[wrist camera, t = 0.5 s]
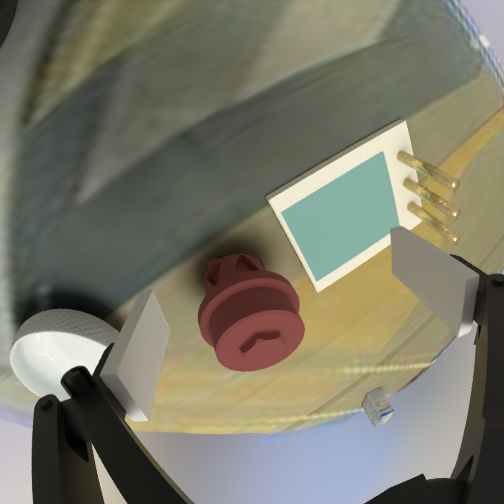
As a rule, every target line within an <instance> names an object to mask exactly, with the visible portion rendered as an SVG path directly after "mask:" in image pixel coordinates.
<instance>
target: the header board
mask: <svg viewBox="0 0 504 504" xmlns="http://www.w3.org/2000/svg"><path fill="white" fill-rule="evenodd" d="M400 151H404V152H406V153H409V154H411V155H413V151H412V147H411V142H410V137H409V133H408V129H407V124H406V121H405V120H402V119H399V120H397V121H395V122H393V123H392V124H390V125H388V126H386V127H384V128H382V129H381V130H379V131H377V132H375V133H373V134H372V135H370V136H368V137H366V138H364V139H363V140H361V141H359V142H357V143H356V144H354V145H352V146H350V147H349V148H347V149H345V150H343V151H342V152H340V153H338V154H336V155H335V156H333V157H331V158H329V159H328V160H326V161H324V162H322V163H321V164H319V165H317V166H316V167H314V168H312V169H311V170H309V171H307V172H305V173H304V174H302V175H300V176H299V177H297V178H295V179H294V180H292V181H290V182H289V183H287V184H285V185H284V186H282V187H280V188H279V189H277V190H275V191H274V192H272V193H271V194H269V195H267V196H266V199H267V201H268V203H269V204H270V206H271V208H272V210H273V212H274V213H275V215H276V217H277V219H278V221H279V223H280V224H281V226H282V228H283V230H284V232H285V233H286V235H287V237H288V239H289V241H290V243H291V245H292V246H293V248H294V250H295V252H296V254H297V256H298V258H299V259H300V261H301V263H302V265H303V267H304V269H305V271H306V273H307V275H308V276H309V278H310V280H311V282H312V284H313V286H314V288H315V289H316V291H317V292H319V291H321V290H322V289H324V288H326V287H327V286H329V285H330V284H332V283H333V282H335V281H336V280H338V279H340V278H341V277H343V276H344V275H346V274H347V273H349V272H350V271H352V270H353V269H355V268H356V267H358V266H359V265H361V264H362V263H364V262H365V261H367V260H368V259H370V258H371V257H372V256H374V255H375V254H377V253H378V252H380V251H381V250H383V249H384V248H385V247H387V246H388V245H390V244H391V238H390V229H391V228H395V227H398V226H403V227H404V228H406V229H408V230H411V229H412V228H413V227H415V226H416V225H418V224H419V223H420V222H422V220H421V219H419V218H418V217H417V216H415V215H414V214H413V213H411V212H410V211H408V210H407V206H408V204H409V203H410V202H414V203H416V204H417V205H419V206H420V207H422V206H421V199H420V197H419V196H418V195H416V194H414V193H413V192H411V191H410V190H408V189H406V188H405V187H404V186H403V181H404V179H405V178H407V177H408V178H410V179H412V180H414V181H415V182H417V183H418V179H417V173H416V170H415V169H413V168H411V167H409V166H407V165H405V164H404V163H402V162H400V161H398V159H397V155H398V153H399V152H400Z"/></svg>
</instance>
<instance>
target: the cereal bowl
mask: <svg viewBox="0 0 504 504" xmlns="http://www.w3.org/2000/svg"><path fill="white" fill-rule="evenodd" d="M118 335H119V332H118V331H117V330H116V329H114V328H113V327H112V326H111V325H109V324H108V323H106V322H105V321H103V320H102V319H99V318H97V317H95V316H92V315H91V314H88V313H84V312H81V311H77V310H70V309H52V310H47V311H42V312H40V313H37V314H36V315H33V316H32V317H31V318H29V319H28V320H27V321H25V322H24V324H23V325H22V326H21V327H20V329H19V330H18V332H17V333H16V336H15V338H14V341H13V343H12V347H11V349H10V362H11V366H12V368H13V371H14V372H15V374H16V376H17V377H18V379H19V380H20V381H21V382H22V383H23V384H24V385H25V386H26V387H27V388H28V389H29V390H30V391H32V392H33V393H35V394H36V395H38V396H39V397H44V396H45V395H48V394H54V395H55V396H57V398H58V399H59V400H60V402H61V401H64V400H67V399H70V398H71V397H70V396H69V395H68V393H67V392H66V391H65V389H64V388H63V387H62V385H61V378H62V376H63V375H64V374H65V373H66V372H67V371H68V370H70V369H71V368H73V367H75V366H85V367H86V368H87V369H88V371H89V372H90V374H91V375H92V374H93V372H94V370H95V368H96V366H97V365H98V362H99V360H100V359H101V356H102V354H103V352H104V350H105V349H106V348H107V347H108V346H109V345H110V344H111V343H115V341H116V339H117V337H118Z"/></svg>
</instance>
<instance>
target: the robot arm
mask: <svg viewBox="0 0 504 504" xmlns="http://www.w3.org/2000/svg"><path fill="white" fill-rule="evenodd" d="M16 5H17V0H0V47H1V45H2V43H3V41H4V39H5V37H6V35H7V33H8V30H9V28H10V25H11V23H12V20H13V17H14V13H15V9H16ZM390 238H391V252H392V272H393V274H394V275H395V276H396V277H397V278H398V279H399V280H400V281H401V282H402V283H403V284H404V285H406V286H407V287H408V288H409V289H410V290H411V291H412V292H413V293H414V294H415V295H416V296H417V297H418V298H419V299H420V300H421V301H422V302H423V303H424V304H425V305H426V306H427V307H428V308H429V309H430V310H431V311H432V312H433V313H434V314H435V315H436V316H437V317H438V318H439V319H440V320H441V321H442V322H443V323H444V324H445V325H446V326H447V327H448V328H449V329H450V330H451V331H452V332H453V333H454V334H455V335H456V336H457V337H460V336H462V335H464V334H466V333H468V332H470V331H471V328H472V323H473V320H474V321H475V322H476V323H478V327H477V332H476V337H475V341H474V345H476V353H475V366H474V375H473V383H472V391H471V397H470V404H469V410H468V415H467V421H466V426H465V430H464V435H463V439H462V443H461V448H460V452H459V455H458V459H457V462H456V465H455V468H454V470H453V472H452V474H451V477H450V478H436V479H429V480H426V478H425V476H424V474H421V475H419V476H416V477H414V478H412V479H410V480H407V481H405V482H403V483H400V484H398V485H395V486H393V487H391V488H389V489H387V490H385V491H384V492H383V493H381V494H379V495H378V496H376V497H374V498H373V499H371V500H370V501H368V502H366V503H364V504H504V275H503V274H491V275H487V274H486V273H484V272H483V271H481V270H480V269H478V268H477V267H475V266H474V265H473V266H472V264H471V263H469V262H467V261H466V260H464V259H463V258H461V257H459V256H456V255H453V254H450V255H449V254H447V253H446V252H444V251H442V250H441V249H439V248H438V247H436V246H434V245H433V244H431V243H430V242H428V241H426V240H425V239H423V238H421V237H420V236H418V235H416V234H415V233H413V232H411V231H410V230H408V229H406V228H404V227H403V226H398V227H395V228H391V229H390ZM170 333H171V330H170V328H169V325H168V323H167V321H166V319H165V316H164V314H163V312H162V310H161V307H160V305H159V303H158V300H157V298H156V296H155V293H154V291H153V290H149V291H145V292H140V294H139V296H138V298H137V300H136V302H135V304H134V306H133V308H132V310H131V312H130V313H129V315H128V317H127V319H126V321H125V323H124V325H123V327H122V329H121V331H120V333H119V335H118V337H117V339H116V341H115V343H111V344H110V345H109V346H108V347H107V348H106V349H105V350H104V352H103V354H102V356H101V359H100V360H99V362H98V365H97V366H96V368H95V370H94V372H93V374H92V375H91V374H90V372H89V371H88V369H87V368H86V367H85V366H75V367H73V368H71V369H70V370H68V371H67V372H66V373H65V374H64V375H63V376H62V378H61V385H62V387H63V388H64V389H65V391H66V392H67V393H68V395H69V396H70V397H71V398H70V399H67V400H64V401H61V402H60V400H59V399H58V398H57V396H55V395H54V394H48V395H45V396H44V397H41V399H39V400H38V402H37V403H36V405H35V408H34V418H33V433H32V492H33V504H105V503H104V500H103V496H102V491H101V487H100V484H99V479H98V475H97V470H96V465H95V460H94V455H93V449H92V444H93V446H94V448H95V450H96V452H97V454H98V455H99V457H100V459H101V461H102V463H103V465H104V466H105V468H106V470H107V472H108V473H109V475H110V477H111V478H112V480H113V482H114V483H115V485H116V486H117V488H118V490H119V491H120V493H121V494H122V496H123V497H124V499H125V501H126V502H127V504H194V503H193V502H192V501H191V500H190V499H189V498H188V496H187V495H186V494H185V493H184V492H183V491H182V490H181V489H180V488H179V487H178V486H177V485H176V484H175V483H174V481H173V480H172V479H171V478H170V477H169V476H168V475H167V474H166V473H165V471H164V470H163V469H162V468H161V467H160V465H159V464H158V463H157V462H156V461H155V459H154V458H153V457H152V456H151V454H150V453H149V452H148V451H147V449H146V448H145V447H144V446H143V444H142V443H141V442H140V440H139V439H138V438H137V436H136V435H135V434H134V432H133V431H132V430H131V428H130V427H129V425H128V424H127V423H126V422H125V420H124V419H125V416H126V413H127V414H128V416H129V417H130V418H131V420H132V421H133V422H135V421H149V418H150V413H151V409H152V404H153V400H154V396H155V392H156V387H157V383H158V379H159V375H160V371H161V367H162V363H163V359H164V355H165V352H166V348H167V344H168V340H169V336H170ZM91 442H92V443H91Z"/></svg>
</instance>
